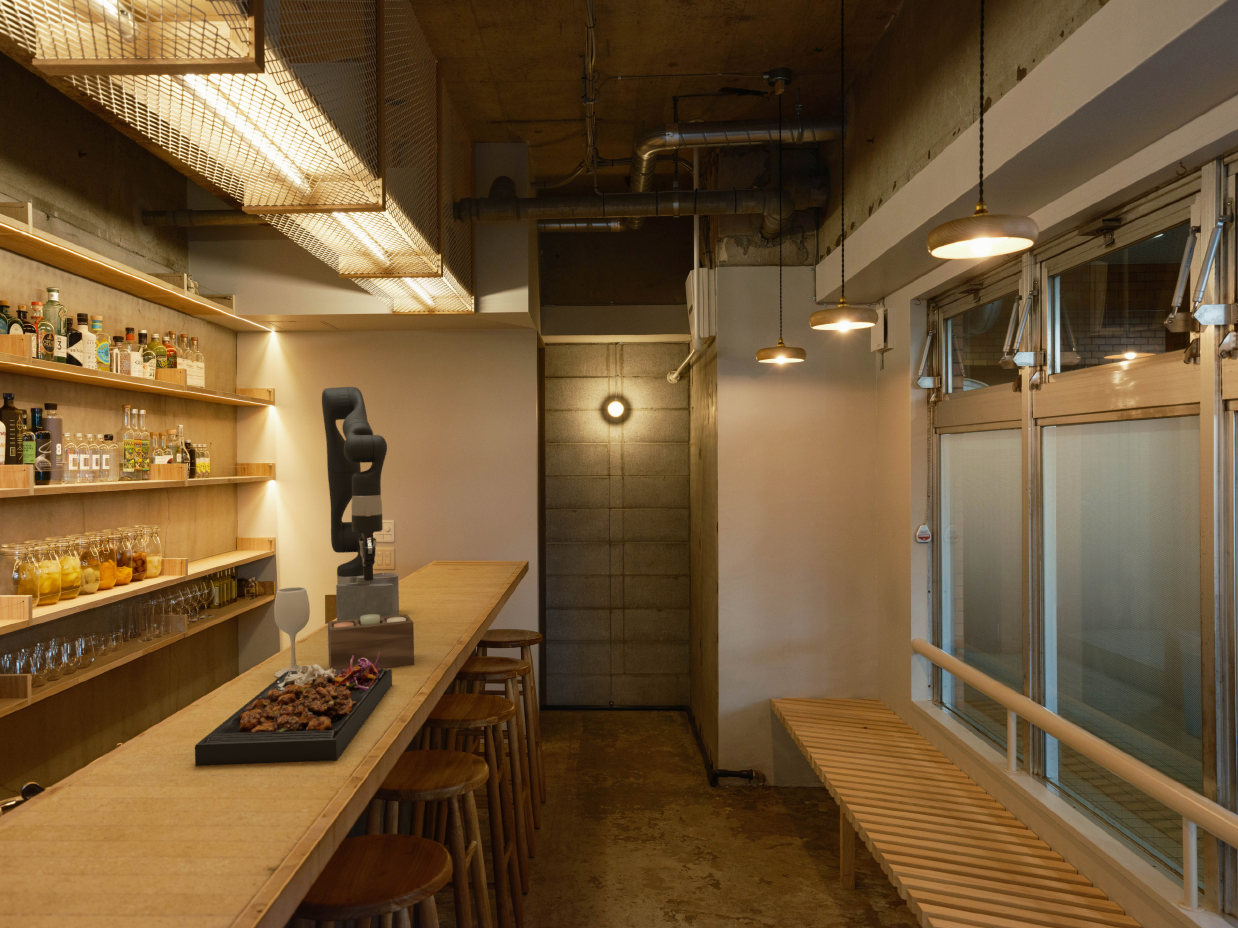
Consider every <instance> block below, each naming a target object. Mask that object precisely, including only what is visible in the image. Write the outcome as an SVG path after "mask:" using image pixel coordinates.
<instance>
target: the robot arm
mask: <svg viewBox="0 0 1238 928" xmlns="http://www.w3.org/2000/svg"><path fill="white" fill-rule="evenodd" d="M321 407H322V415H323V416H322V417H323V423H324V431H325V440H326V460H327V461H326V462H327V463H326V465H327V478H328V479H327V481H328V489H329V501H330V538H331V539H330V543H331V547H332V550H333V552H334V553H337V554H338V553H339V554H341V553H342V554H343V553H346V554H347V553H357V555H356V557H354V558H353V559H350V560H349V561H347V562H344V563H342V564H340V565H338V566H337V567H336V578H337V579H336V581H337V583H336V585H338V584H348V583H357V582H358V580H357V577H358V576H364V580H365V581H371V580H373V574H374V565H375V561H376V560H375V557H376V556H377V555H376V549H377V548H376V547H377V538H375V537H374V533H377V532H382V531H383V501H382V491H381V490H382V489H381V488H382V487H381V486H382V485H381V480H382V478H381V477H382V471H383V467H384V462H385V459H386V455H387V451H388V444H387V443H388V442H387V441H386V439H385V438H384V436H382V435H379V434H374V430H373V429H372V427H371V425H370V422H369V420H368V415H367V410H366V405H365V400H364V396H363V394H362V392H361V390H360V389H359V388H358V387H356V386H339V387H328V388H324V389H323V391H322V394H321ZM339 420H340V421H341V420H343V423H342V432H343V433H342V434H343V435H344V437H343V435H342V434H341V432H340V431H339V429H338V426H337V421H339ZM363 463H371V466H370V467H369V468H368V469H366V470H363V471H361V464H363ZM350 502H351V505H350V506H351V508H350V509H351V521H348V522H347V521H343V516H344V513H345V511H346V509H347V508H348V505H349V503H350Z"/></svg>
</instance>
